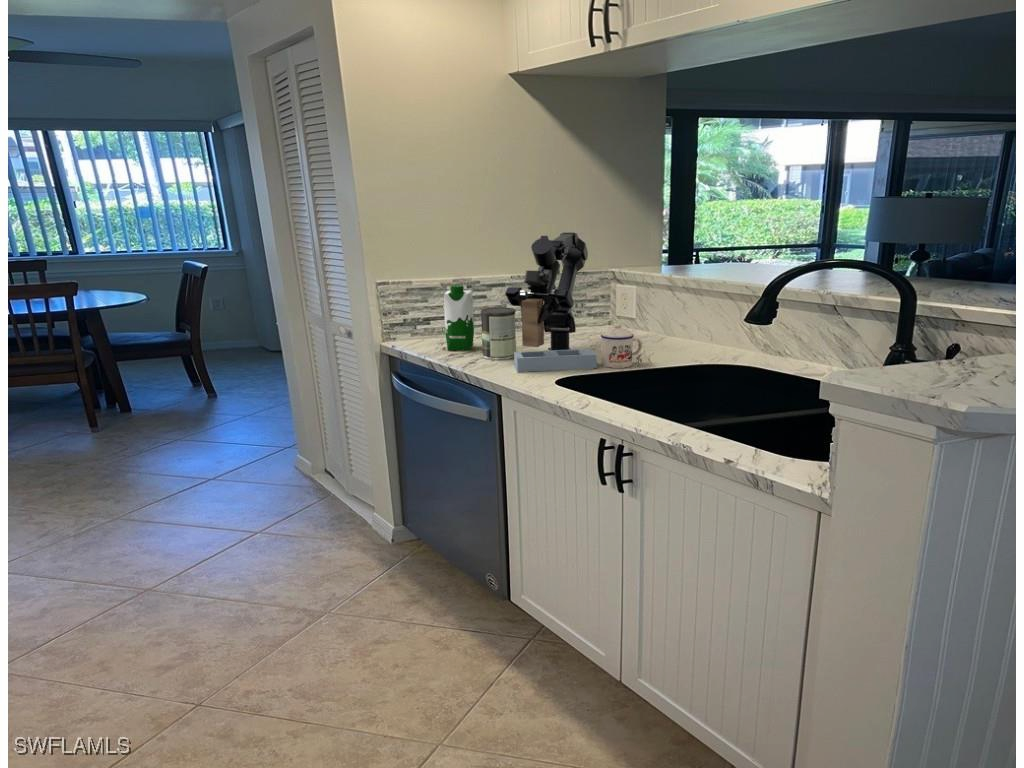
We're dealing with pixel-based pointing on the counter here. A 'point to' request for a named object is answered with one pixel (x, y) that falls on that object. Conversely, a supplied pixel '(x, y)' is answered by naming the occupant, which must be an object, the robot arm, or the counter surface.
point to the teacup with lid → (618, 347)
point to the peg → (532, 323)
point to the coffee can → (498, 333)
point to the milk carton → (459, 318)
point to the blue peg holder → (555, 360)
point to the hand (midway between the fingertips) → (530, 322)
